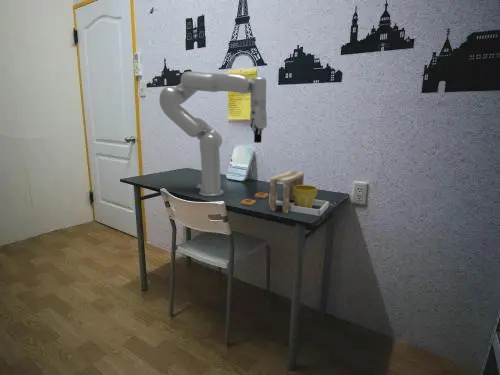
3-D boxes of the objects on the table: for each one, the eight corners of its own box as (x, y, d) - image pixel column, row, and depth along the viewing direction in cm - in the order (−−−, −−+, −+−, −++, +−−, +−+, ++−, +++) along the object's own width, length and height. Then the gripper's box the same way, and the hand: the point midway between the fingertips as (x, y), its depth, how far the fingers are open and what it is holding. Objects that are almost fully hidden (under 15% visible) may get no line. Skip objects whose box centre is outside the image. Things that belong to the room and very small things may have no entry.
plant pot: (300, 203, 141) (301, 183, 139) (320, 208, 135) (321, 187, 132) (288, 208, 134) (288, 187, 131) (308, 213, 127) (309, 191, 125)
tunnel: (269, 210, 131) (270, 178, 128) (287, 198, 149) (288, 170, 145) (286, 213, 128) (288, 180, 124) (302, 200, 145) (303, 172, 142)
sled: (264, 207, 136) (265, 196, 134) (277, 199, 148) (277, 189, 147) (320, 216, 124) (320, 204, 123) (328, 206, 136) (329, 196, 135)
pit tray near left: (254, 197, 151) (254, 194, 150) (259, 195, 155) (259, 192, 155) (263, 198, 149) (263, 195, 148) (268, 196, 153) (268, 193, 152)
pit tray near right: (241, 204, 139) (241, 201, 139) (246, 201, 143) (246, 198, 143) (250, 206, 137) (250, 203, 136) (255, 203, 141) (255, 200, 140)
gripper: (258, 103, 137) (257, 144, 142) (271, 104, 150) (270, 141, 154) (243, 104, 141) (243, 143, 145) (258, 104, 153) (257, 140, 158)
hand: (257, 142), depth 150 cm, fingers closed
